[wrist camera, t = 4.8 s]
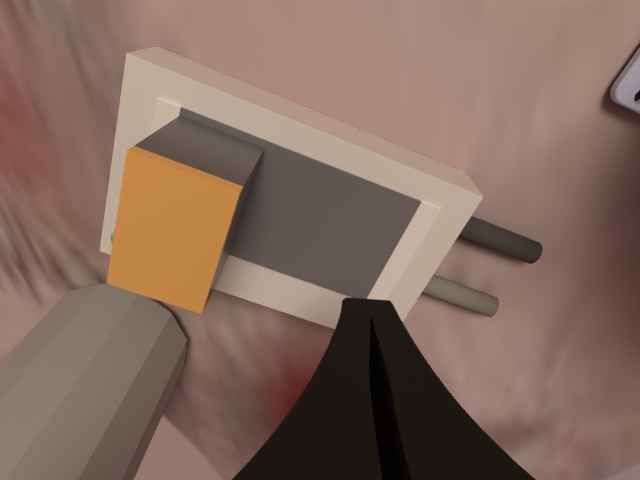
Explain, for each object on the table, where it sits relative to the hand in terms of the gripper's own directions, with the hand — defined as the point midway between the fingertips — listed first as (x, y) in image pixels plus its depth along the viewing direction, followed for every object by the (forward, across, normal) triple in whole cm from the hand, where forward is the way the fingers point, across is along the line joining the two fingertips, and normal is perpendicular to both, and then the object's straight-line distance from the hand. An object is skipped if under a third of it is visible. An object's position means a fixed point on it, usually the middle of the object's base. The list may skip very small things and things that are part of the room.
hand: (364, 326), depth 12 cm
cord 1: (+8, -4, +4) cm, 9 cm away
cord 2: (+8, -6, 0) cm, 9 cm away
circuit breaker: (+7, +3, 0) cm, 8 cm away
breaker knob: (+5, +6, -2) cm, 8 cm away
